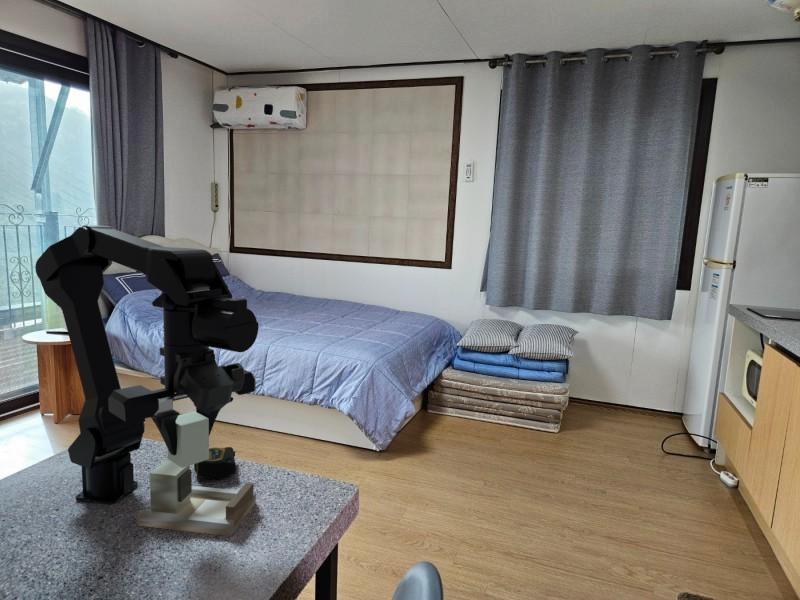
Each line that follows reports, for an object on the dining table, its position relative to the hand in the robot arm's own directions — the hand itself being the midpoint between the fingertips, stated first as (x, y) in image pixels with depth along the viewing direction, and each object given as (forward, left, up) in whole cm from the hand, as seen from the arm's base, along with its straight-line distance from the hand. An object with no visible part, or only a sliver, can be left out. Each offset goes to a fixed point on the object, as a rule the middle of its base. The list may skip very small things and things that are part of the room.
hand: (188, 449), depth 74 cm
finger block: (0, 0, -1) cm, 1 cm away
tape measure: (-3, +16, -12) cm, 20 cm away
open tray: (0, +3, -12) cm, 12 cm away
